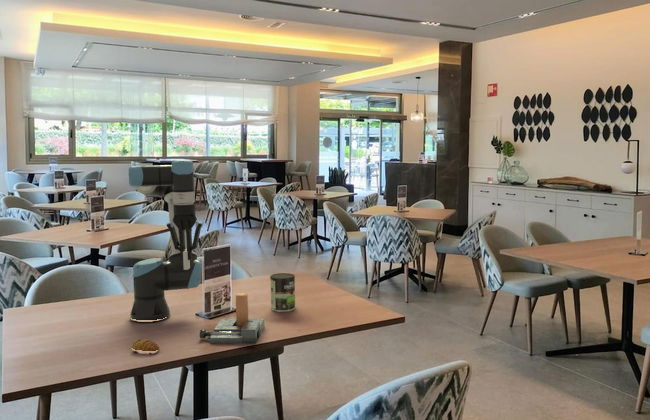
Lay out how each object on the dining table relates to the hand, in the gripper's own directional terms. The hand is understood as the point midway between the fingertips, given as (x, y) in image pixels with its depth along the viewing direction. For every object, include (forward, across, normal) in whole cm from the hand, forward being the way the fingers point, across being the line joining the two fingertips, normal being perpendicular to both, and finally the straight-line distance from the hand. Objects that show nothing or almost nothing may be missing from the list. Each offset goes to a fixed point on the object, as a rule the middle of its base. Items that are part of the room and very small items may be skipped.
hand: (186, 268), depth 204 cm
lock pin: (+24, +14, -5) cm, 28 cm away
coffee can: (+25, +30, +33) cm, 51 cm away
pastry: (+25, -10, -16) cm, 32 cm away
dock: (+24, +18, 0) cm, 30 cm away
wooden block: (+24, +19, +3) cm, 31 cm away
